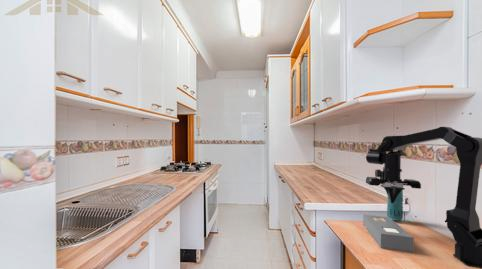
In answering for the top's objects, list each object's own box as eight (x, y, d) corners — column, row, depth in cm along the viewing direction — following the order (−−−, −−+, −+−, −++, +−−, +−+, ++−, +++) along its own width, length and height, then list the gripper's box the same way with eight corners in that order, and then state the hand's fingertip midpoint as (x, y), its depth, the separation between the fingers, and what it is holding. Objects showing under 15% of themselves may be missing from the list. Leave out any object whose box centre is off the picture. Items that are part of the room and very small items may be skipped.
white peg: (394, 241, 84) (395, 228, 84) (399, 246, 80) (399, 233, 80) (382, 240, 85) (383, 227, 85) (387, 244, 81) (387, 231, 81)
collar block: (388, 228, 98) (388, 216, 98) (413, 252, 76) (413, 237, 77) (363, 225, 100) (363, 214, 100) (380, 247, 79) (380, 233, 79)
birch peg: (383, 229, 96) (383, 218, 96) (386, 233, 92) (386, 221, 92) (372, 228, 97) (372, 217, 97) (375, 232, 93) (375, 220, 93)
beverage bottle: (387, 221, 106) (387, 179, 107) (386, 217, 112) (386, 177, 113) (404, 224, 103) (404, 180, 104) (401, 220, 109) (402, 178, 110)
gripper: (408, 165, 100) (407, 200, 100) (362, 163, 105) (362, 196, 104) (421, 168, 89) (421, 207, 89) (370, 165, 94) (369, 202, 93)
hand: (391, 202), depth 94 cm, fingers closed
